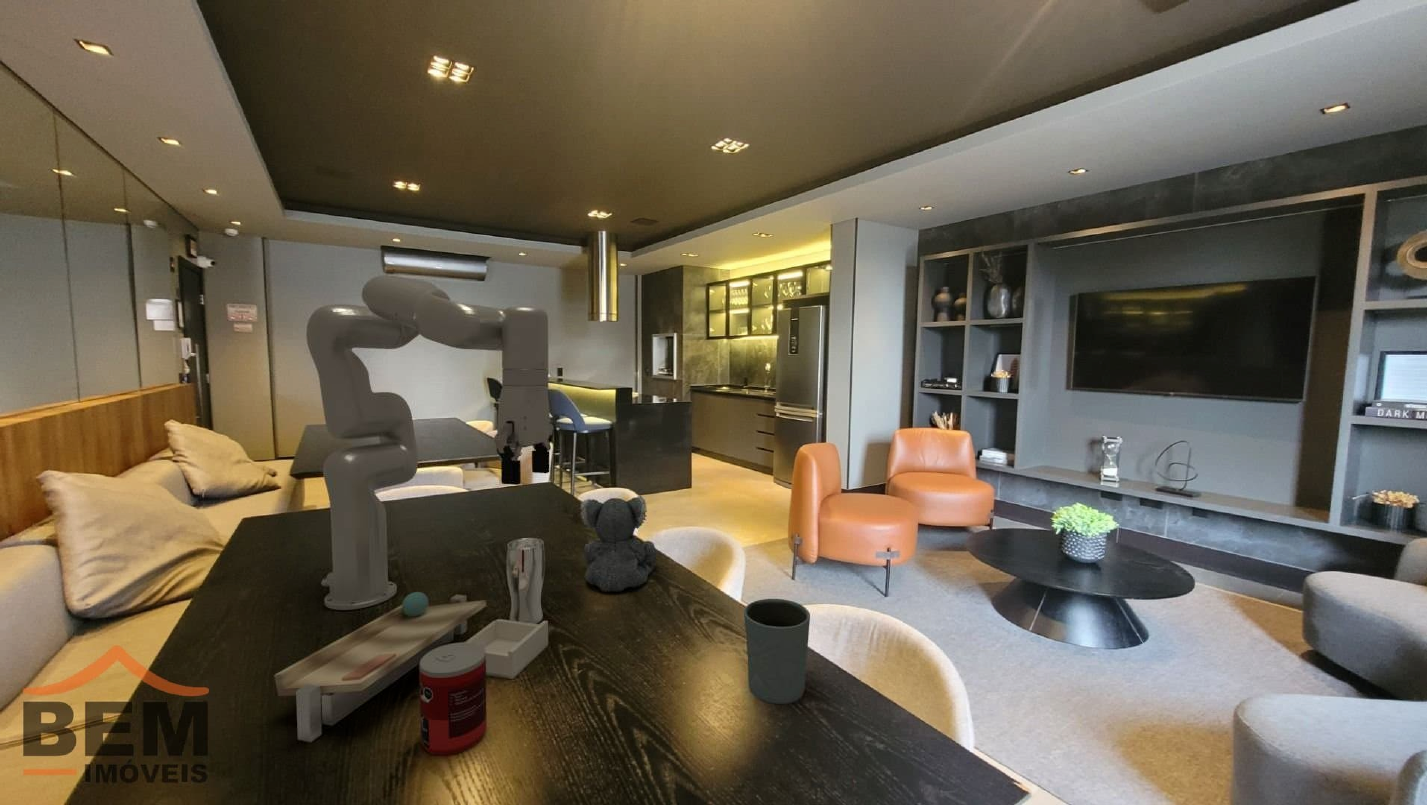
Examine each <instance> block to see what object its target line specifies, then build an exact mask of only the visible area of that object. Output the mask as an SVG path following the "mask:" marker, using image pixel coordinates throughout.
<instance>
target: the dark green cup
mask: <svg viewBox="0 0 1427 805" xmlns="http://www.w3.org/2000/svg"><path fill="white" fill-rule="evenodd" d="M743 615H744V616H743V617H744V630H745V638H746V655H747V669H748V670H747V677H748V678H747V679H748V687H749V691H750V693H751V694H752V695H753V696H754V697H756V698H757V699H758V700H761V701H763V702H765V703H769V704H775V705H776V704H777V705H787V704H791V703H794V702H796V701H798V700H800V699H801V698H802V697H803V694H804V692H805V687H806V686H805V685H806V675H807V674H806V666H807V665H806V662H807V659H808V654H807V650H808V645H809V636H810V634H809V633H810V621H811V613H810V611H809V610H808V609H807V607H805V606H804V605H802V604H801V603H799V602H795V601H793V600H789V599H783V598H763V599H759V600H758V599H757V600H755V601H752V602H750V603H748V604H747V605H746V607H744V611H743Z"/></svg>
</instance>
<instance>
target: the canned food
mask: <svg viewBox="0 0 1427 805" xmlns="http://www.w3.org/2000/svg"><path fill="white" fill-rule="evenodd" d="M418 669H419V670H418V671H419V672H418V674H419V675H418V676H419V678H418V679H419V683H418V684H419V710H420V711H419V714H420V715H419V716H420V717H419V718H420V742H421V744H422V746H423V748H424V750H426V751H427V752H428V753H430V754H433V755H436V754H437V756H448V755H449V754H450V755H455V754H458V752H459V753H462V752H464V751H466V749H467V750H469V749H470V748H471V747H474V746H475V745H477V743H478V742H480V741H481V739H482V738H483V737H484V734H485V733H486V732H485V731H486V730H487V723H488V722H487V721H488V720H487V716H488V715H487V712H488V711H487V710H488V709H487V675H486V654H485V649H484V648H483V647H482V646H480V645H478V644H475V643H467V642H466V641H463V642H454V643H448V644H446V645H444V646H441V647H438V648H436V649H434V650H432V651H430V652H428V653H427V654H425V655H424V656H423V657H422V659H421V661H420V664H419V666H418ZM461 751H462V752H461ZM450 755H449V756H450Z"/></svg>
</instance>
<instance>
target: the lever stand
mask: <svg viewBox="0 0 1427 805" xmlns="http://www.w3.org/2000/svg"><path fill="white" fill-rule="evenodd" d="M463 602H467V595H463V594H455V595H454V596H451V597H450V604H454V603H463ZM467 620H468V619H466V620H465V621H463V622H462V623H460V624H459V625H458V626H456V627H455V628H453V629H452V630H450V631H449V632H447V633H446V634H444V635H443V636H441V637H440V638H438V639H437V640H436V641H434V642H433V643H431V644H430V645H428V646H427V647H425V648H424V649H422V650H421V651H419V652H418V653H416V654H415V655H414V656H412V657H411V658H409V659H408V660H406V661H405V662H403V663H402V664H400V665H399V666H397V667H396V668H394V669H393V670H392V671H390V672H389V673H387V674H386V675H384V676H383V677H381V678H380V679H378V680H377V681H375V682H374V683H372V684H371V685H370V686H368V687H367V688H365V689H364V690H362V691H351V692H336V693H326V694H325V695H323V696H322V697H320V686H316V685H311V684H307V685H305V686H304V687H302V688H300V689H299V690H297V691H296V695H295V698H296V700H295V701H296V702H295V703H296V721H297V722H296V723H297V726H296V727H297V740H298V741H303V742H307V743H312V742H313V741H314V740H316V739H318V738H319V737H320V736H322V733H323V730H322V729H323V728H322V725H327V726H334V725H335V724H337V723H338V722H339V721H341V720H343V719H344V718H346V716H348V715H350V714H351V713H352V712H354V711H355V710H357V709H358V708H359V707H360V706H363V704H365V703H367V701H369V700H370V699H372V698H373V697H375V696H376V695H378V694H379V693H381V692H382V691H383V690H385V689H386V688H387V687H389V686H391V684H393V683H394V682H396V681H398V680H399V679H400V678H402V677H403V676H404V675H406V674H407V673H409V672H411V670H413V669H414V668H415V667H417V666H418V665H420V661H421V659H422V657H423V656H424V655H425V654H427V653H428V652H430V651H432V650H434V649H436V648H438V647H441V646H444V645H448V644H450V643H451V642H452V641H454V638H455V637H454V635H459V636H462V635H463V634H465V633H466V632H468V630H467V629H468V625H467V624H468V622H467Z"/></svg>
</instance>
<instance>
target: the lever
mask: <svg viewBox="0 0 1427 805" xmlns="http://www.w3.org/2000/svg"><path fill="white" fill-rule="evenodd" d="M485 607H487V601H486V599H484V600H475V601H474V600H473V601H466V602H463V603H454V604H451V603H447V604H436V605H428V607H427V609H426V610H425V611H424V612H423V613H422V614H421V615H419V616H415V617H411V616H408V615H406V614H405V613H404V611H403V609H402V604H401V605H399V606H397V607H396V608H394V609H392V610H390V611H388V612H386V613H384V614H382V615H381V616H379V617H377V618H375V619H374V620H372V621H370V622H368V623H367V624H364V625H363V626H360V627H359V628H357V629H356V630H354V631H352V632H350V633H348V634H346V635H345V636H343V637H341V638H339V639H337V640H335V641H333V642H331V643H330V644H328V645H326V646H324V647H322V648H321V649H319V650H317V651H315V652H313V653H311V654H310V655H308V656H306V657H304V658H303V659H301V660H299V661H297V662H296V663H293V664H292V665H289V666H287V667H286V668H284V669H282V670H281V671H278V672H277V673H275V674H274V675H273V676H274V680H275V682H274V683H275V686H276V691H277V695H278V697H288V696H289V697H290V696H296V691H297V690H299V689H300V688H302V687H304V686H305V685H307V684H311V685H316V686H320V697H321V698H322V696H323V695H325V694H326V693H336V692H351V691H362V690H364V689H365V688H367V687H368V686H370V685H371V684H372V683H374V682H375V681H377V680H378V679H380V678H381V677H383V676H384V675H386V674H387V673H389V672H390V671H392V670H393V669H394V668H396V667H397V666H399V665H400V664H402V663H403V662H405V661H406V660H408V659H409V658H411V657H412V656H414V655H415V654H416V653H418V652H419V651H421V650H422V649H424V648H425V647H427V646H428V645H430V644H431V643H433V642H434V641H436V640H437V639H438V638H440V637H441V636H443V635H444V634H446V633H447V632H449V631H450V630H452V629H453V628H455V627H456V626H458V625H459V624H460V623H462V622H463V621H465V620H466V619H467V620H468V619H469V618H471V617H472V616H474V615H475V614H477V613H479V612H480V611H481V610H482V609H484V608H485Z"/></svg>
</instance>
